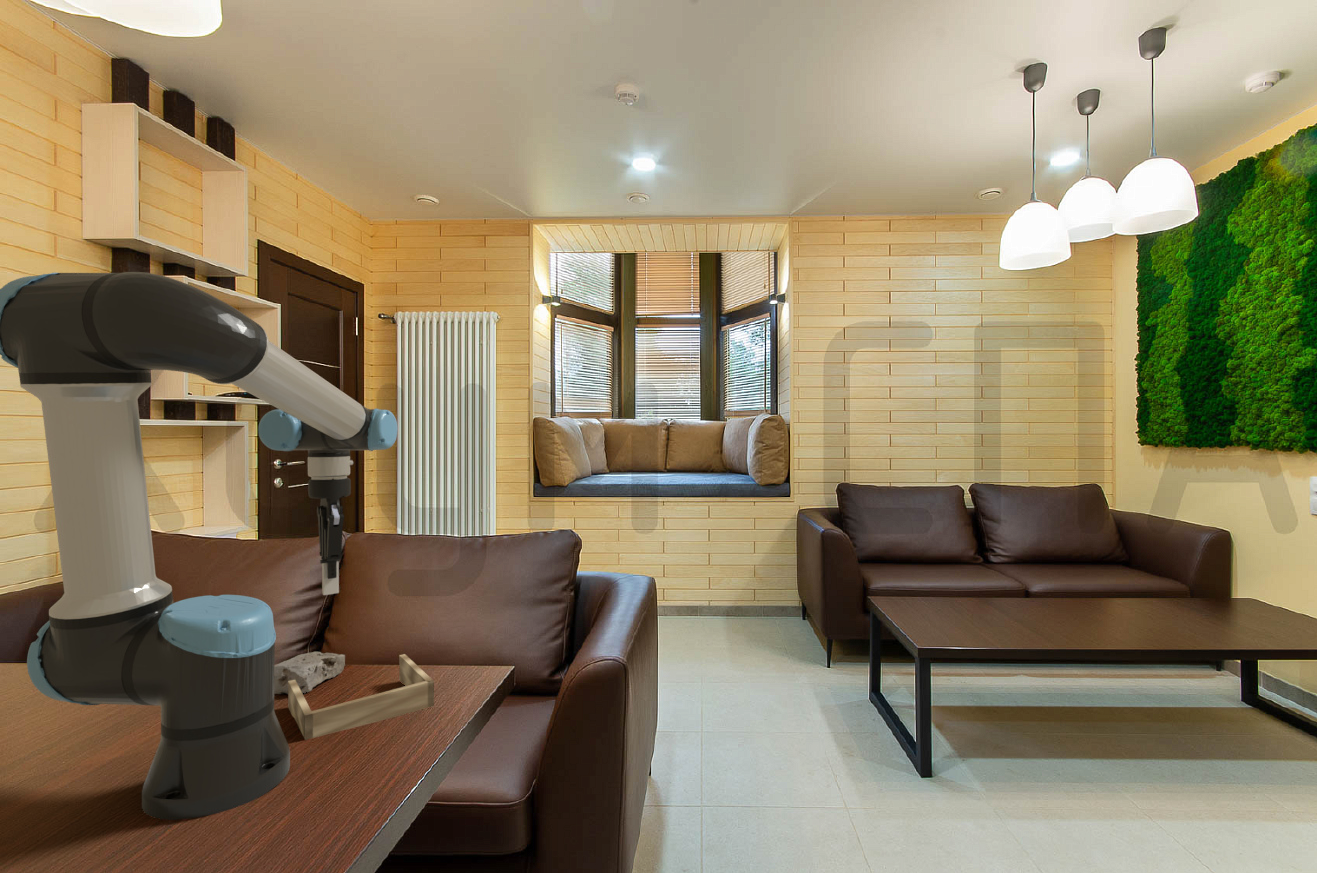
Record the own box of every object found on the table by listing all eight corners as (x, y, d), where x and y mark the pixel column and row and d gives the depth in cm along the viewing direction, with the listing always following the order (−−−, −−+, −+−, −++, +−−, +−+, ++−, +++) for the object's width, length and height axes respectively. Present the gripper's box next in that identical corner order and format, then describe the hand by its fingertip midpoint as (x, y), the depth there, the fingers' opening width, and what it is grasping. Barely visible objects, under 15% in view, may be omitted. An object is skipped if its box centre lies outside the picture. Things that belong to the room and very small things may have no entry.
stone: (353, 666, 117) (302, 669, 117) (350, 638, 116) (299, 641, 116) (317, 703, 104) (260, 706, 104) (314, 672, 103) (256, 676, 103)
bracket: (434, 710, 99) (433, 681, 99) (305, 749, 87) (305, 715, 87) (404, 680, 111) (404, 654, 111) (288, 710, 99) (288, 681, 99)
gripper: (357, 478, 116) (358, 596, 116) (342, 474, 126) (343, 583, 126) (314, 480, 111) (315, 604, 111) (302, 476, 121) (303, 589, 121)
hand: (330, 593), depth 118 cm, fingers closed
